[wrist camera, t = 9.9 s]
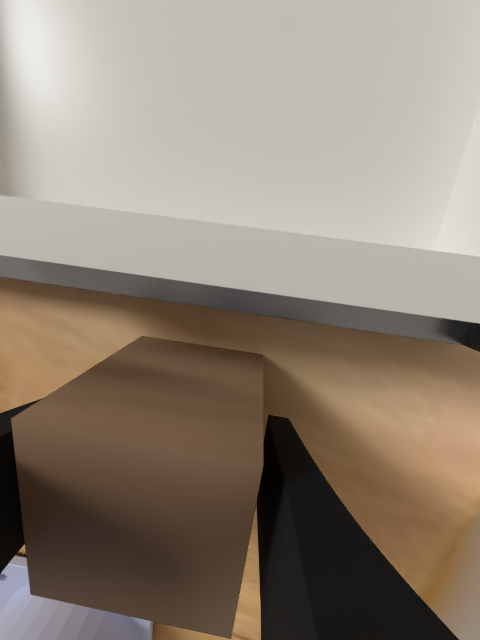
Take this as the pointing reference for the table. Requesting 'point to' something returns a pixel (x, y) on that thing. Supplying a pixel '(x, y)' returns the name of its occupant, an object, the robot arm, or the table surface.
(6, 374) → the table surface
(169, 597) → the walnut block
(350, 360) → the table surface
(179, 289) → the track
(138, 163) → the white shallow tray
